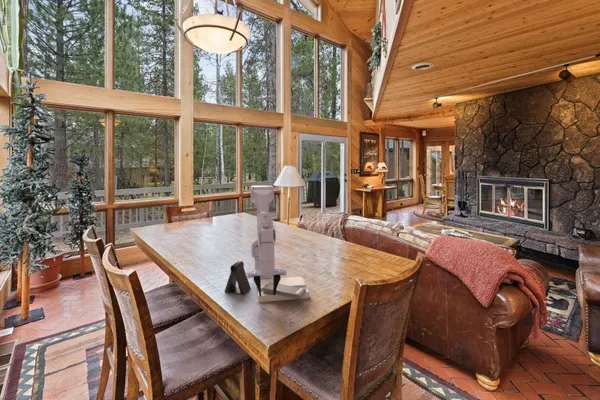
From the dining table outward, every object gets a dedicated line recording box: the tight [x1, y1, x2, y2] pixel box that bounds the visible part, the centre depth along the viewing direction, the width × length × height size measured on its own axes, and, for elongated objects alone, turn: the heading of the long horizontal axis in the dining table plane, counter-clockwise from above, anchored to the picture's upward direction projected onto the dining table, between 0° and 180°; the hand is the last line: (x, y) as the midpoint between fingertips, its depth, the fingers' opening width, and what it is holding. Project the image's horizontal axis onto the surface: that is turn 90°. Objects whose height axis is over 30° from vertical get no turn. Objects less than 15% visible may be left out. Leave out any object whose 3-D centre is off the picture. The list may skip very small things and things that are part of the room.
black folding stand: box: [224, 260, 252, 296], centre depth 120 cm, size 9×6×12 cm, turn 73°
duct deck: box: [256, 276, 310, 303], centre depth 120 cm, size 16×20×2 cm
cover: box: [262, 282, 306, 300], centre depth 113 cm, size 6×17×2 cm, turn 66°
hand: (267, 294), depth 110 cm, fingers open, 5 cm apart
